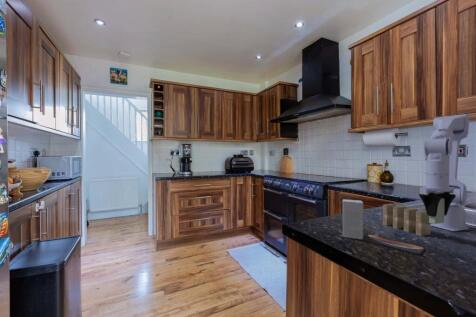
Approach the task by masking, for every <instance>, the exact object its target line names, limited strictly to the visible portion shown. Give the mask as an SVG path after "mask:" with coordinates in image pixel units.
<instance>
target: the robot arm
mask: <svg viewBox="0 0 476 317" xmlns="http://www.w3.org/2000/svg"><path fill="white" fill-rule="evenodd" d="M432 123H433V126H432V128H433V132H432V134H431V137H430V138H428V139H427V140H425V141H424V143H423V152H424V160H425V161H426V164H425V165H426V166H425V170H426V171H425V185H424V186H421V187H419V194H418V196H419V198H420V199H421V200H422V203H423V205H424V209H425V211H426V212H427V215H428V216H433V217H436V215H437V209H438V204H439V202H440V200H441V198H443V199H445V203H444V223H438V224H433V223H430V227H431V226H432V227H435V228H438V229H442V230H443V229H444V230H447V231H451V232H459V231H460V232H461V231H465V230H469V227H467V226H466V224H467V212H466V209H465V208H464V206H465V205H466V204H467V197H468V193H467V186H466V184H465V183H463V182H461V181H460V180H458V170H459V169H458V168H459V166H458V165H459V155H460V154H459V152H460V145H461V142H462V140H463V139H466V138H468V135H469V128H470V116H469V114H467V113H464V114H455V115H454V114H453V115H447V116H444V115H443V116H436V117H435V118H433V121H432Z"/></svg>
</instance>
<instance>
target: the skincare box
mask: <svg viewBox="0 0 476 317" xmlns="http://www.w3.org/2000/svg"><path fill="white" fill-rule="evenodd" d="M342 237H343V238H348V239H354V240H355V239H357V240H362V239H363V238H364V202H363V201H362V200H356V199H342Z"/></svg>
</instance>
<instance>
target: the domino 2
mask: <svg viewBox="0 0 476 317" xmlns="http://www.w3.org/2000/svg"><path fill="white" fill-rule="evenodd" d="M404 209H407V206H405V205H398V206H397V205H396V206H395V207H393V225H392V229H396V230H398V229H404Z"/></svg>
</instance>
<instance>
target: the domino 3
mask: <svg viewBox="0 0 476 317" xmlns="http://www.w3.org/2000/svg"><path fill="white" fill-rule="evenodd" d="M416 211H419V209H418V208H414V207H411V208H406V209H404V228H403V231H404V232H407V233H411V232H416Z"/></svg>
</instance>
